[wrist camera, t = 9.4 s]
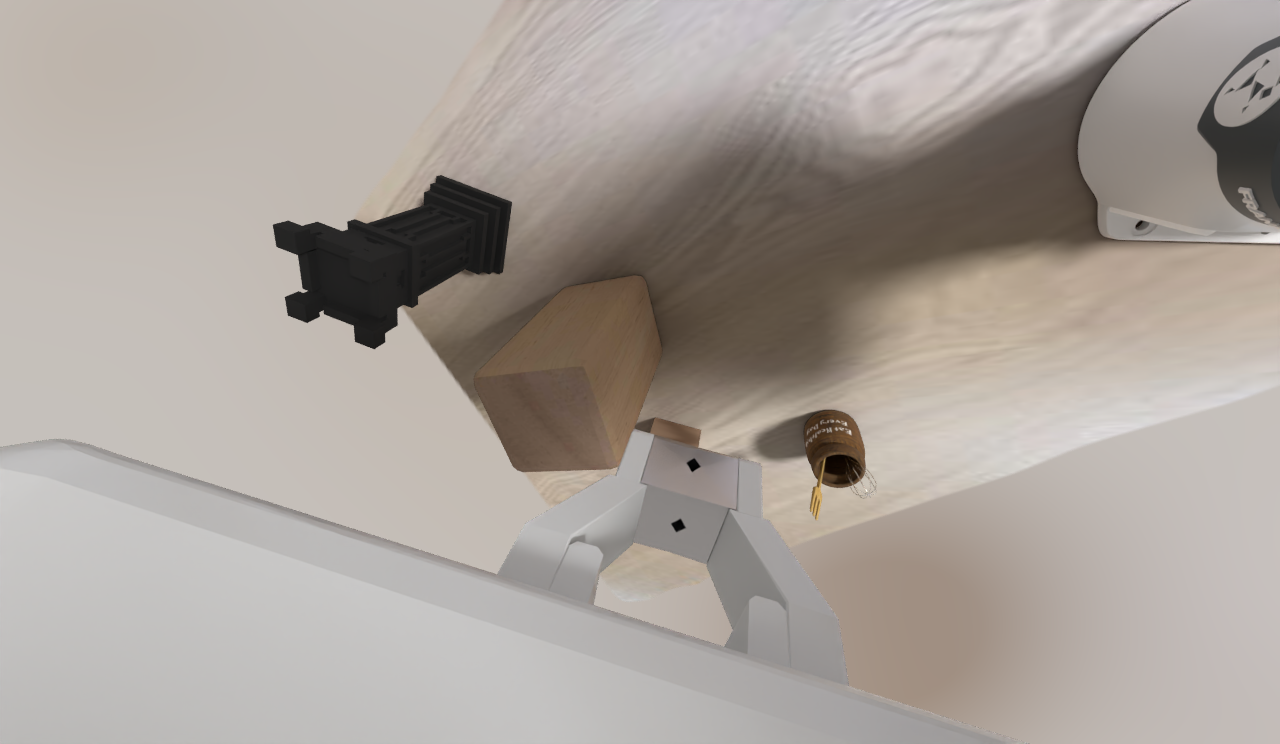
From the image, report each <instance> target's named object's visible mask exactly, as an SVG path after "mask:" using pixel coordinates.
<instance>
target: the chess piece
mask: <svg viewBox="0 0 1280 744" xmlns="http://www.w3.org/2000/svg"><path fill="white" fill-rule="evenodd" d="M511 206H512V202H510V201H508V200H505V199H502V198H500V197H497V196H494V195H492V194H489V193H486V192H484V191H481V190H479V189H476V188H473V187H471V186H468V185H465V184H463V183H460V182H457V181H455V180H452V179H449V178H447V177H444V176H442V175H440V176H436V183H433V184H430V191H427V192H424V206H421V207H418V208H415V209H412V210H408V211H405V212H402V213H399V214H396V215H393V216H389V217H386V218H383V219H380V220H377V221H374V222H370V223H367V224H366V223H363V222H361V221H358V220H355V219H354V220H351V221H348V222H347V223H348V230H345V231H340V230H337V229H335V228H332V227H330V226H327V225H325V224H322V223H319V222H315V223H311V224H308V225H304V226H301V225H298V224H296V223H293V222H290V221H286V222H281V223H277V224H274V225H273V229H274V235H275V241H276V246H277V247H278V248H281V249H283V250H286V251H289V252H291V253H294V254H296V255H298V258H299V265H300V272H301V280H302V287H303V289H305V290H308V291H307V292H305V293H301V292H299V291H298V292H296V293H294V294H291V295H289V296H286V297H285V300H286V306H287V313H288V316H291V317H293V318H296V319H298V320H301V321H304V322H306V323H308V322H310V321H312V320H314V319H316V318H318V317H320V315H319V312H321V311H323V310H324V314H325V315H328V316H330V317H333V318H335V319H338V320H341V321H343V322H346V323H348V324H351V325H354V333H355V342H357V343H360V344H363V345H365V346H367V347H370V348H373V349H375V348H377V347H378V346H380V345H381V344H383V343H385V333H386V332H388V331H389V330H391V329H392V328H394V327H396V326H397V324H398V323H397V308H399V307H400V306H402V305H406V306H408V307H411V308H413V307H414V306H416V305H418V296H419V295H421V294H423V293H424V292H426V291H428V290H430V289H431V288H433V287H435V286H437V285H438V284H440V283H442V282H443V281H445V280H447V279H449V278H450V277H452V276H454V275H456V274H457V273H459V272H461V271H462V270H464V269H466V270H468V271H471V272H473V273H476V274H480V273H482V272H484V273H487V274H491V273H492V272H495V273H497V274H500V273H502V272H503V266H504V258H505V251H506V243H507V236H508V228H509V221H510V213H511Z"/></svg>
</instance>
